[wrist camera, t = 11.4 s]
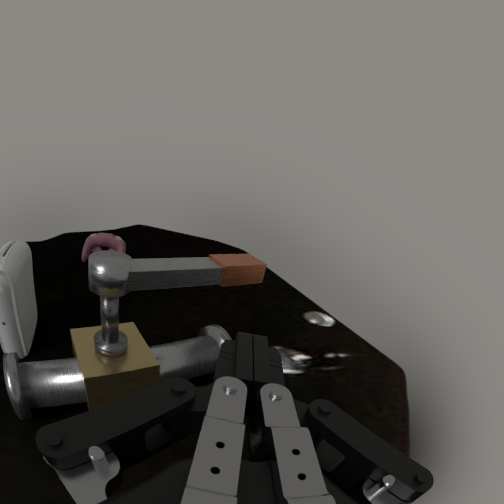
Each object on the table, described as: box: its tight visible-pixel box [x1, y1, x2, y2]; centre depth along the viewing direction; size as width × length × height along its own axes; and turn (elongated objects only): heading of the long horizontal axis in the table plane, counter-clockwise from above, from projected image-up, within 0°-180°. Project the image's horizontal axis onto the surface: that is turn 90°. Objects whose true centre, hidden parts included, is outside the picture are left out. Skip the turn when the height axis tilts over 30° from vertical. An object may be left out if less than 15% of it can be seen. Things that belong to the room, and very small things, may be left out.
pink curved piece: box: [82, 233, 126, 262], centre depth 55 cm, size 10×5×7 cm, turn 108°
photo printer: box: [0, 240, 37, 359], centre depth 24 cm, size 10×4×12 cm, turn 28°
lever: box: [88, 250, 266, 297], centre depth 24 cm, size 17×4×2 cm, turn 128°
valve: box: [3, 296, 232, 420], centre depth 23 cm, size 24×7×13 cm, turn 130°
